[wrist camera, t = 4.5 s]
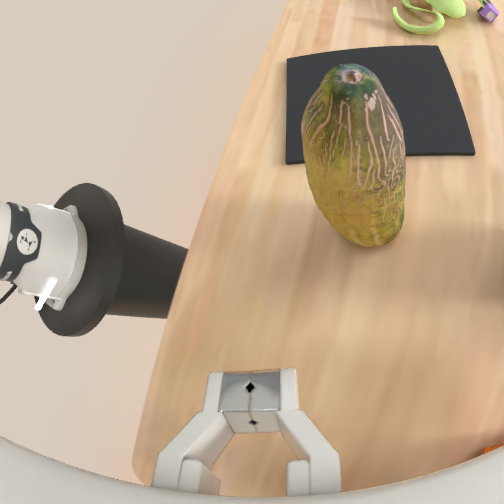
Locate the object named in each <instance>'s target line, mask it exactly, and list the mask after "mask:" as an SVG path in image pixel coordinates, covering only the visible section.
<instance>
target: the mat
mask: <svg viewBox="0 0 504 504" xmlns="http://www.w3.org/2000/svg"><path fill="white" fill-rule="evenodd" d="M349 63H351V64H358V65H361V66H364V67H366V68H367V69H369V70H370V71H371V72H373V73H374V74H375V75H376V76H377V77H378V79H379V81H380V82H381V84H382V86H383V88H384V90H385V92H386V94H387V96H388V97H389V98H390V100H391V101H392V103H393V105H394V107H395V109H396V111H397V113H398V116H399V119H400V122H401V125H402V128H403V136H404V143H405V154H406V155H405V156H421V155H475V150H474V146H473V142H472V138H471V135H470V131H469V128H468V124H467V121H466V118H465V114H464V111H463V108H462V105H461V102H460V99H459V97H458V94H457V91H456V88H455V86H454V83H453V80H452V78H451V75H450V73H449V70H448V68H447V66H446V63H445V61H444V58H443V56H442V54H441V52H440V50H439V47H438V46H428V45H415V46H385V47H370V48H358V49H348V50H339V51H332V52H324V53H317V54H311V55H305V56H299V57H294V58H288V59H287V121H286V163H287V165H289V164H298V163H305V160H304V153H303V141H302V133H301V123H302V118H303V115H304V111H305V109H306V107H307V104H308V102H309V100H310V99H311V97H312V96H313V94H314V93H315V92H316V91H317V89H318V88H319V87H320V84H321V82H322V80H323V79H324V77H325V75H326V74H327V73H328V72H329V71H330V70H331V69H332V68H334V67H336V66H338V65H340V64H349Z"/></svg>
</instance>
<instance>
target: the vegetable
mask: <svg viewBox="0 0 504 504" xmlns="http://www.w3.org/2000/svg"><path fill="white" fill-rule="evenodd" d="M301 133H302V141H303V153H304V160H305V166H306V174H307V178H308V182H309V186H310V189H311V191H312V194H313V197H314V200H315V202H316V204H317V205H318V207H319V209H320V210H321V211H322V213H323V214H324V216H325V217H326V219H327V220H328V221H329V222H330V224H331V225H332V226H333V227H334V228H335V229H336V230H337V231H338V232H339V233H340V234H341V235H342V236H344V237H345V238H346V239H348V240H349V241H351V242H353V243H355V244H356V245H359V246H364V247H374V246H381V245H385V244H387V243H389V242H390V241H391V240H393V239H394V238H395V237H396V235H397V234H398V233H399V231H400V229H401V227H402V223H403V219H404V196H405V176H406V164H405V155H406V154H405V143H404V136H403V128H402V125H401V122H400V119H399V116H398V113H397V111H396V109H395V107H394V105H393V103H392V101H391V100H390V98H389V97H388V96H387V94H386V92H385V90H384V88H383V86H382V84H381V82H380V81H379V79H378V77H377V76H376V75H375V74H374V73H373V72H371V71H370V70H369V69H367V68H366V67H364V66H361V65H358V64H351V63H349V64H340V65H338V66H336V67H334V68H332V69H331V70H330V71H329V72H328V73H327V74H326V75H325V77H324V79H323V80H322V82H321V84H320V87H319V88H318V89H317V91H316V92H315V93H314V94H313V96H312V97H311V99H310V100H309V102H308V104H307V107H306V109H305V111H304V115H303V118H302V123H301Z"/></svg>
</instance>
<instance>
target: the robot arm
mask: <svg viewBox="0 0 504 504" xmlns="http://www.w3.org/2000/svg"><path fill="white" fill-rule="evenodd" d="M86 257H87V234H86V229H85V227H84V225H83V223H82V221H81V220H80V219H79V217H78V211H77V207H76V206H73V205H70V206H68V207H66V208H64V209H63V210H60V209H57V208H54V207H53V206H47V205H44V204H40V203H38V204H36V205H34V206H32V207H31V208H29V209H27V208H26V207H23V206H21V205H19V204H17V203H11V202H7V203H3V202H0V280H2V281H10V282H11V284H14V285H13V287H12V288H11V289H10V290H9V291H8V292H7V293H6V294H5V295H4V296H3V298H1V299H0V304H1V303H2V302H4V301H5V300H6V299H7V298H8V297H9V296H10V295H11V293H12V292H13V291H14V290H15V289H16V288H17V287H18V292H19V293H21V294H24V295H29V294H30V295H35V296H37V297H38V298H39V301H38V303H37V305H36V307H35V310H40V309H41V307H42V305H43V303H44V302H45V303H46V304H48V305H49V306H50V307H52V308H53V309H55V310H58V311H61V310H62V308H63V306H64V304H65V302H66V299H67V298H68V297H69V295H70V294H71V293H72V292H73V291H74V290H75V288H76V287H77V285H78V283H79V281H80V279H81V277H82V274H83V271H84V267H85V263H86ZM268 432H281V434H282V436H283V437H284V439H285V440H286V441H287V443H288V444H289V446H290V447H291V449H292V450H293V452H294V453H295V455H296V456H297V457H298V459H299V460H292V461H290V462H289V463H288V464H287V489H286V497H236V496H219V491H220V479H219V478H218V477H217V476H216V475H214V474H213V473H212V472H211V471H210V470H209V468H210V467H211V466H212V464H213V463H214V462H215V460H216V459H217V458H218V456H219V455H220V454H221V452H222V451H223V450H224V448H225V447H226V446H227V444H228V443H229V442H230V440H231V439H232V437H233V436H234V433H268ZM0 504H504V445H503V446H501V447H499V448H497V449H495V450H492V451H490V452H488V453H485V454H483V455H480V456H478V457H475V458H473V459H470V460H468V461H465V462H462V463H460V464H457V465H454V466H451V467H448V468H445V469H442V470H439V471H436V472H432V473H429V474H426V475H422V476H419V477H415V478H411V479H407V480H403V481H399V482H395V483H390V484H385V485H381V486H375V487H370V488H364V489H358V490H352V491H345V492H342V487H341V473H340V459H339V455H338V453H337V452H336V451H335V450H334V449H333V447H332V446H331V445H330V444H329V443H328V441H327V440H326V439H325V438H324V437H323V435H322V434H321V433H320V432H319V430H318V429H317V428H316V427H315V426H314V424H313V423H312V422H311V421H310V419H309V418H308V417H307V416H306V414H305V413H304V412H303V411H302V409H299V397H298V385H297V376H296V368H285V369H268V370H255V371H238V372H210V374H209V376H208V381H207V387H206V392H205V398H204V404H203V410H202V412H198V413H197V414H196V415H195V416H194V417H193V418H192V419H191V420H190V421H189V422H188V423H187V424H186V425H185V426H184V428H183V429H182V430H181V431H180V432H179V433H178V434H177V435H176V436H175V437H174V438H173V439H172V440H171V441H170V442H169V443H168V444H167V445H166V446H165V447H164V448H163V449H162V450H161V451H160V452H159V454H158V456H157V461H156V465H155V470H154V475H153V480H152V484H151V487H150V486H145V485H140V484H135V483H131V482H127V481H122V480H118V479H114V478H110V477H107V476H103V475H99V474H96V473H93V472H89V471H86V470H83V469H79V468H77V467H74V466H71V465H68V464H65V463H62V462H59V461H57V460H54V459H51V458H49V457H46V456H44V455H41V454H39V453H36V452H34V451H32V450H30V449H27V448H25V447H23V446H21V445H18V444H16V443H14V442H12V441H10V440H8V439H6V438H4V437H1V436H0Z"/></svg>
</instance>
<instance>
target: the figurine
mask: <svg viewBox="0 0 504 504" xmlns="http://www.w3.org/2000/svg"><path fill="white" fill-rule="evenodd" d="M425 1H426V2H428V3H429V4H430V5H431V6H432V10H433V11H430V10H425V9H421V8H417V7H414V6H412V5H410V2H409V0H402V3H403V4H404V5H405V6H406V7H408V8H411V9H415V10H421V11H428V12H433V13H435V14H436V15H437V20H436V21H435V22H434V23H432V24H430V25H428V26H414V25H410V24H408V23H406V22H405V21H404V20H402V19H401V18H400V17H399V15H398V13H397V8H396V7H393V8H392V14H393V18H394V20H395V21H396V22H397V23H398V24H399V25H400V26H401V27H402V28H404V29H405V30H407V31H409V32H412V33H416V34H431V33H434V32H436V31H438V30H439V29H441V28H442V27H443V26H444V23H445V20H444V18H443V16H442V15H441V13H443V14H446V15H448V16H450V17H452V18H462V17H463V16H465V15H466V6H465V4H464V1H463V0H425ZM478 1H479V2H480V3H481V5H482V6H483V7H484V8H483V7H480V9H478V13H479V14H481V15H482V16H483V17H484V18H485V19H486V20H488V21H489V22H490V23H492V22H493V21H494V19H495V18H496V17H497V16H498V14H499V12H498V11H497V9H496V8H495V7H494V5H493V4H492V3H491V2H490V1H489V0H478Z"/></svg>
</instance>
